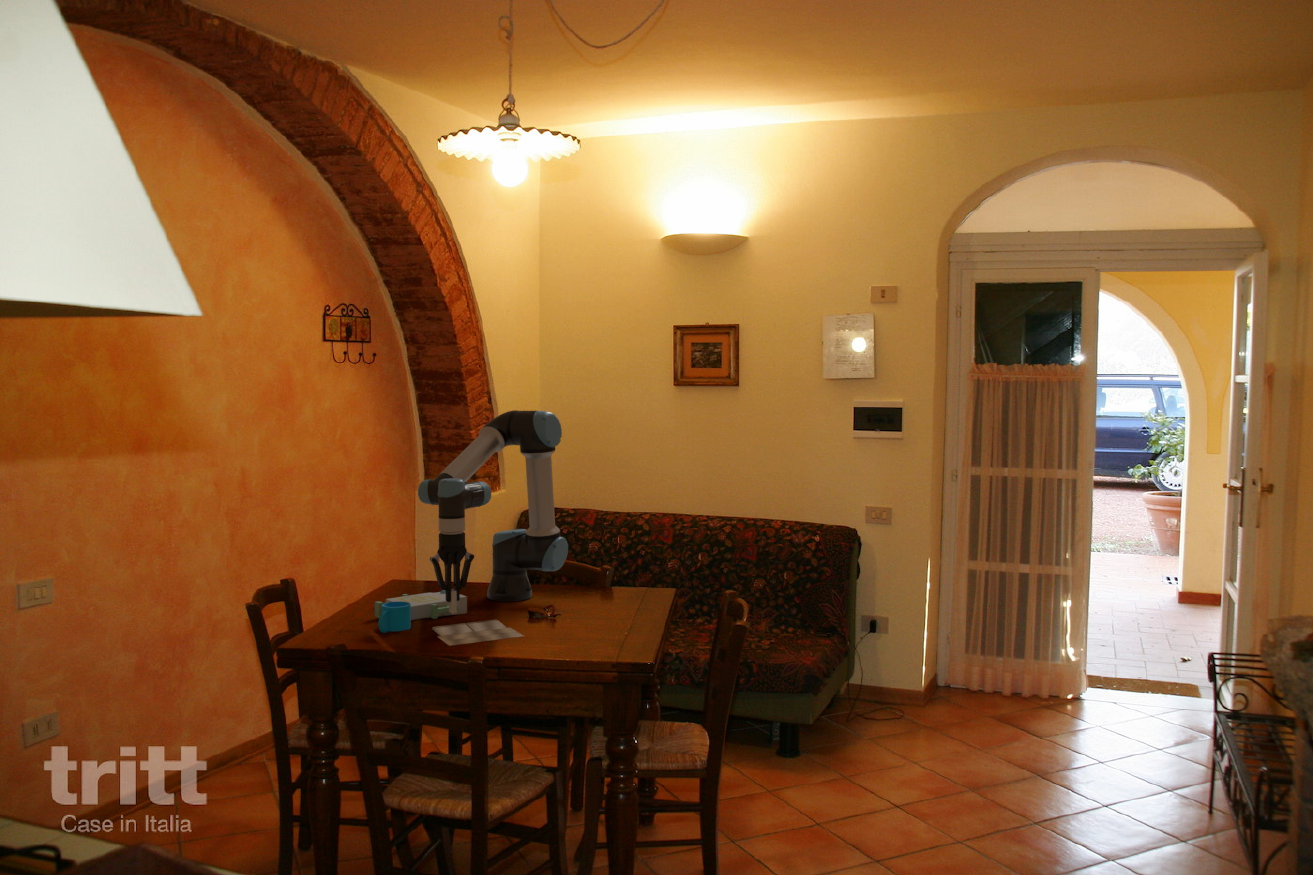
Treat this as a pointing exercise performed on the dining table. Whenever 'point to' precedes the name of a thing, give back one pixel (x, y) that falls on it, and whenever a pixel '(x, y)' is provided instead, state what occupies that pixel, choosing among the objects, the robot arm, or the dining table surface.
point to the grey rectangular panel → (485, 625)
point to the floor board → (479, 636)
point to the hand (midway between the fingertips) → (452, 612)
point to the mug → (395, 616)
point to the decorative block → (426, 605)
